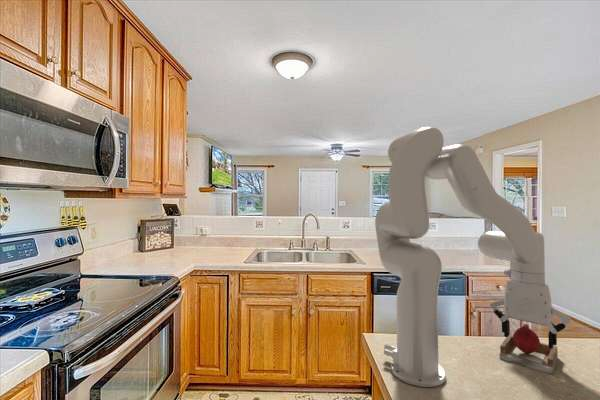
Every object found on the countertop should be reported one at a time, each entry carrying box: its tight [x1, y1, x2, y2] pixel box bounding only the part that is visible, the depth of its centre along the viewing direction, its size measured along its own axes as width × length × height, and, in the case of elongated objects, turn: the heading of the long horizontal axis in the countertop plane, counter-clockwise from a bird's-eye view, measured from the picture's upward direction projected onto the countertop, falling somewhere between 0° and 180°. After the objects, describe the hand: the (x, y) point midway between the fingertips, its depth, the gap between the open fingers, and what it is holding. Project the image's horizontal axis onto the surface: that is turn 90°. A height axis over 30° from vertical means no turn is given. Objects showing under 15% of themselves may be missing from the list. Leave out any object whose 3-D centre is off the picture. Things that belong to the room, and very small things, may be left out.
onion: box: [512, 323, 541, 354], centre depth 82 cm, size 6×6×8 cm
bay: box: [499, 334, 559, 375], centre depth 82 cm, size 11×11×3 cm
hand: (528, 341), depth 82 cm, fingers open, 9 cm apart
